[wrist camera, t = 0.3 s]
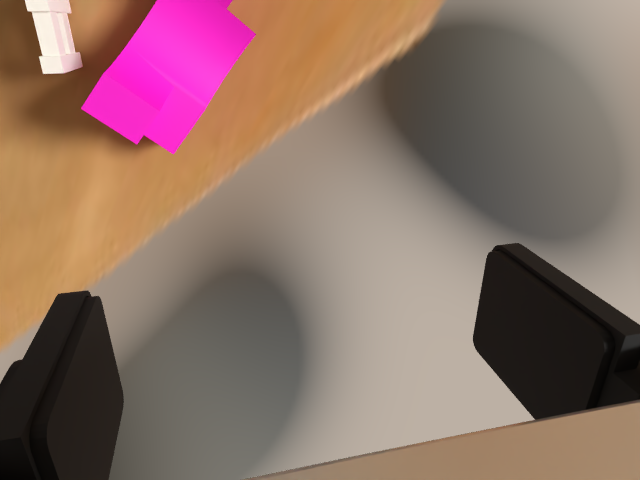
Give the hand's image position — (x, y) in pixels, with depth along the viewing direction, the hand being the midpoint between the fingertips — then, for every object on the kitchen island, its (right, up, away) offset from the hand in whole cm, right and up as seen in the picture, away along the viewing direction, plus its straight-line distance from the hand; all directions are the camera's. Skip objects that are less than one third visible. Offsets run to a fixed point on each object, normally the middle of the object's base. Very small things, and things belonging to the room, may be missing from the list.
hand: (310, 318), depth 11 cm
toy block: (-9, +17, +24) cm, 31 cm away
